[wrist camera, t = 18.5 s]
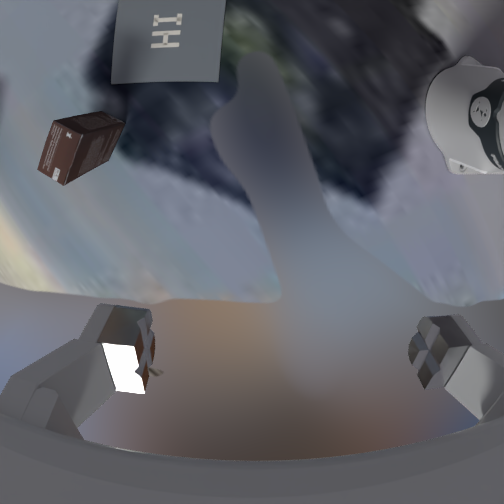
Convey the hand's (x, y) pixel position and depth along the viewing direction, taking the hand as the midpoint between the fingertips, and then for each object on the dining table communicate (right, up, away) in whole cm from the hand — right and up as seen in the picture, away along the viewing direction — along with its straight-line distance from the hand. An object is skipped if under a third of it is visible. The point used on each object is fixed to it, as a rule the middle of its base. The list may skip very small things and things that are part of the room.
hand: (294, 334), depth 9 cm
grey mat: (-12, +30, +23) cm, 39 cm away
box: (-21, +18, +29) cm, 40 cm away
